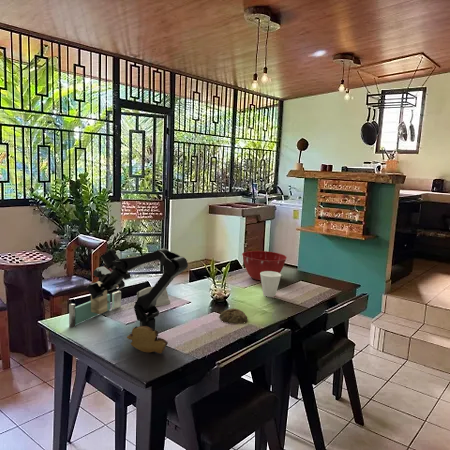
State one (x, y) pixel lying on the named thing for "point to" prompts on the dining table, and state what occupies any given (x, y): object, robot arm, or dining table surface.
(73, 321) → the frame
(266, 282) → the cup
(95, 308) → the block
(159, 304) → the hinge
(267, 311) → the dining table surface
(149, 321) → the robot arm
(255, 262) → the mixing bowl
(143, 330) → the wooden carving
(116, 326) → the dining table surface
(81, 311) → the green upright panel
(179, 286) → the dining table surface
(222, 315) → the brown dome mound
